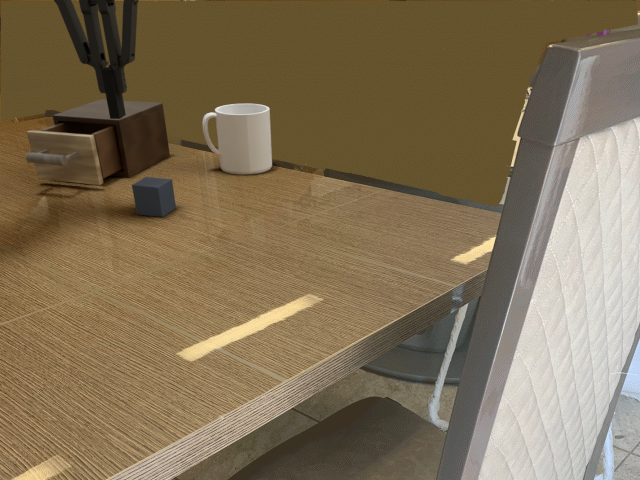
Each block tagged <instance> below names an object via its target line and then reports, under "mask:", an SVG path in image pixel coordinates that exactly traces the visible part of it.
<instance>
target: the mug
mask: <svg viewBox="0 0 640 480" xmlns="http://www.w3.org/2000/svg"><path fill="white" fill-rule="evenodd" d="M270 111H271V110H270V107H269V106H267V105H265V104H259V103H232V104H225V105H221V106H220V105H219V106H218V107H216V108H214V112H213V111H212V112H211V111H210V112H207V113H206V114H204V116H203V118H202V132H203V136H204V140H205V142H206V146H207V147H208V148H209V149H210V150H211V152H213V153H214V154H215V155H218V157H219V168H220V169H221V171H222V172H224V173H228V174H231V175H255V174H256V175H257V174H261V173H265V172H267V171H269V170H271V168H272V167H273V155H272V153H273V152H272V133H271V132H272V131H271V114H270V113H271V112H270ZM213 118H215V127H216V136H217V146H218V147H217V148H216V147H215V145H214V144H213V142H212V139H211V137H210V134H209V125H208V124H209V121H210V119H213Z"/></svg>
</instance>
